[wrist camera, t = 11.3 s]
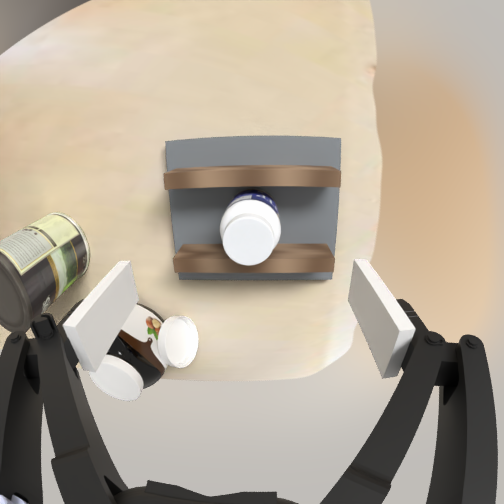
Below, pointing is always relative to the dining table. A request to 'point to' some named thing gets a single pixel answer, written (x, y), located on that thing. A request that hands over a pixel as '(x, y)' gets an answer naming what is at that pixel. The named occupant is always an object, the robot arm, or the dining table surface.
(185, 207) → the plate
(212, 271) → the wooden rail pair
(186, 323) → the spread jar
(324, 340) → the dining table surface
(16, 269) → the coffee can
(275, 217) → the pill bottle
